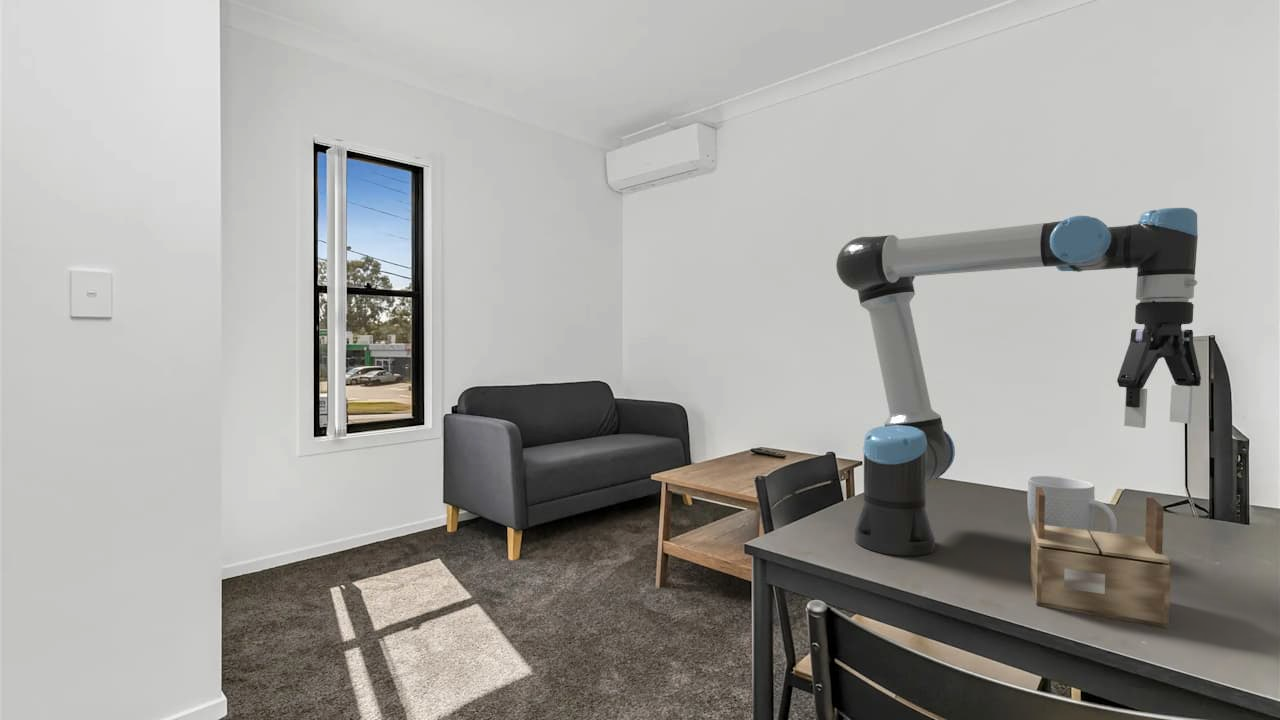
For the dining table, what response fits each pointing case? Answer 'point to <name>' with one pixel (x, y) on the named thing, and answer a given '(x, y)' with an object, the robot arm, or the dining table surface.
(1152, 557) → the right flap
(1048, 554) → the carton
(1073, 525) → the mug
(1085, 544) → the left flap
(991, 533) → the dining table surface
